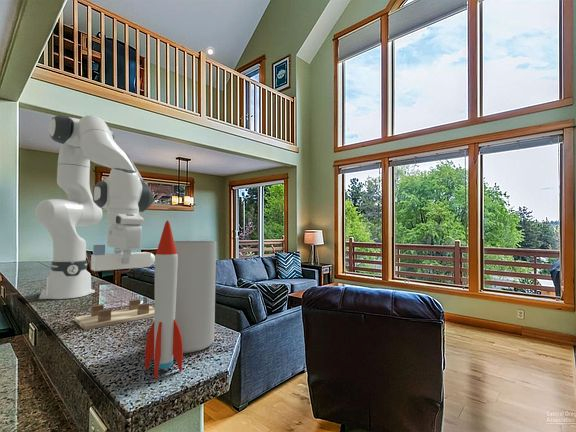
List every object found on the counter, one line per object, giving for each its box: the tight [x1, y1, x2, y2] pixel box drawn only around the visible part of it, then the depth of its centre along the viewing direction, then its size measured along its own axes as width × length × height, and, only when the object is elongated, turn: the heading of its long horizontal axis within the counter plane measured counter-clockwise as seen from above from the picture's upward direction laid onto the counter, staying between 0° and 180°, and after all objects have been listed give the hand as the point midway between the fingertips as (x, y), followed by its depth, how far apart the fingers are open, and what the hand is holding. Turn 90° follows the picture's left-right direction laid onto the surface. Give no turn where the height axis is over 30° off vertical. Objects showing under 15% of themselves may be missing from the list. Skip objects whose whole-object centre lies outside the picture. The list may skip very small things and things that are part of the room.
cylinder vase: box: [174, 240, 217, 354], centre depth 78 cm, size 12×12×25 cm
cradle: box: [73, 298, 155, 331], centre depth 99 cm, size 12×22×4 cm, turn 135°
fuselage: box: [90, 244, 155, 272], centre depth 101 cm, size 4×18×8 cm, turn 135°
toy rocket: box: [144, 220, 184, 380], centre depth 64 cm, size 6×6×30 cm
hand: (122, 262), depth 100 cm, fingers closed on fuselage, 4 cm apart
